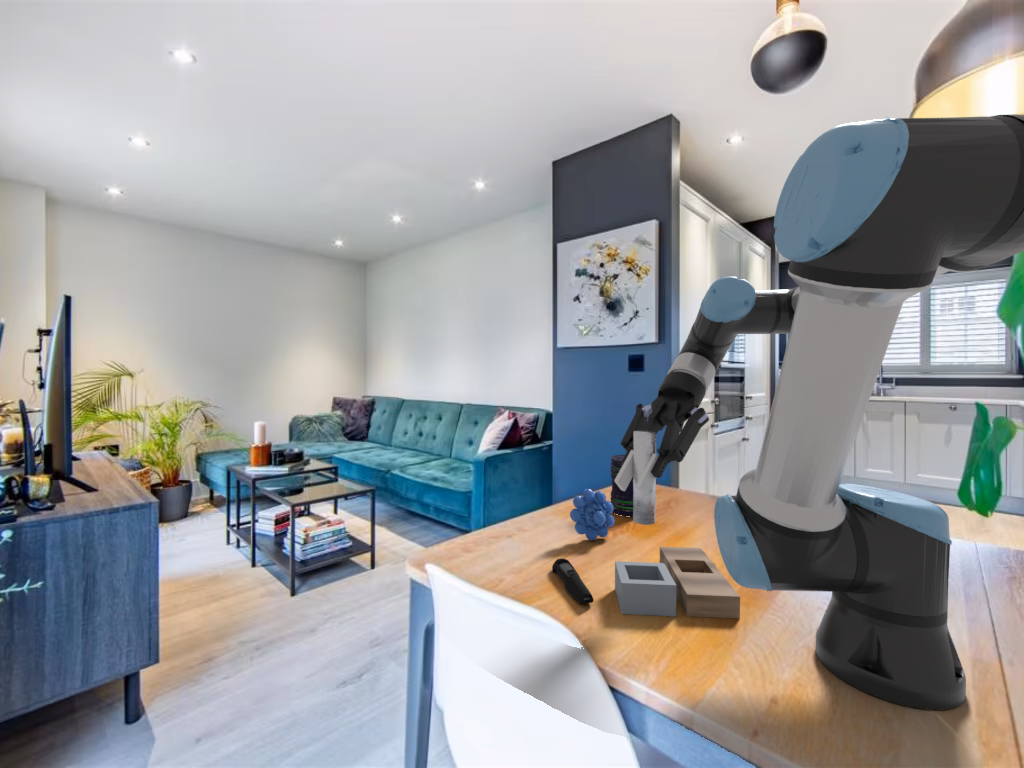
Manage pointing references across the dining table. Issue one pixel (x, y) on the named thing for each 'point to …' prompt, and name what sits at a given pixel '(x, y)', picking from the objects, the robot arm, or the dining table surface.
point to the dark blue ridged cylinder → (618, 497)
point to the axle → (641, 455)
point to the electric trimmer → (572, 581)
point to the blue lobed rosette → (592, 514)
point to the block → (645, 589)
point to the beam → (700, 584)
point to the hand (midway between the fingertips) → (630, 488)
